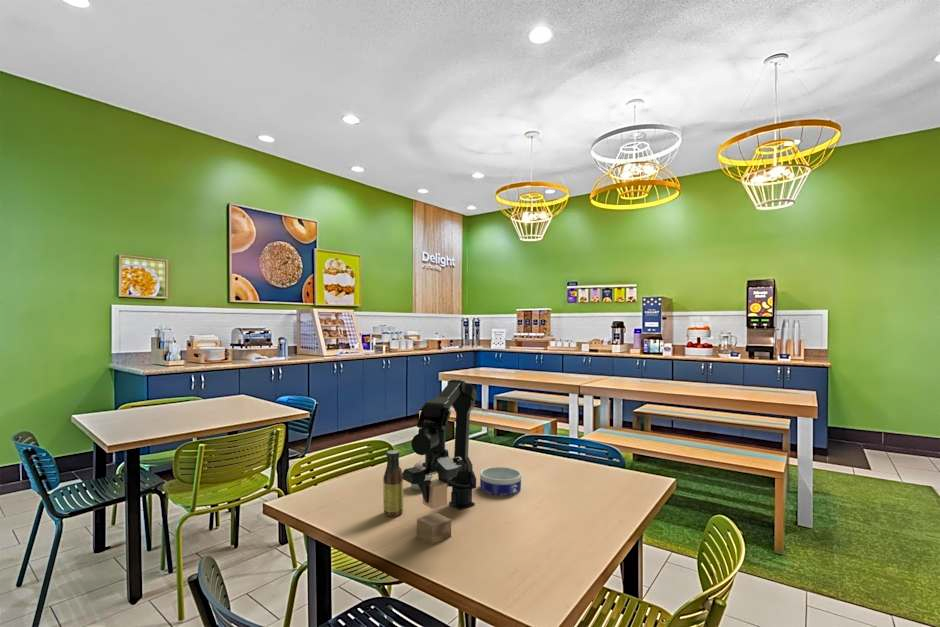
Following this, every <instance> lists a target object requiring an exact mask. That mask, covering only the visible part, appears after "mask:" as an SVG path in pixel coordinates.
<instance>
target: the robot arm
mask: <svg viewBox="0 0 940 627" xmlns="http://www.w3.org/2000/svg"><path fill="white" fill-rule="evenodd" d="M477 396H478V392H477V390H476V389H475V388H474V386H472V385H470V384H468V383H466V381H465V380H462V379H450V380H448V382H447V385H446V386H445V388H444V389H443V390H442V391H441V392H440V393H439V394H438V395H437V397H435V398H430V399H428V400H427V401H425V403H424V404H423V405H422V407H421V411H420V414H419V417H418V421H417V425H416V428H419V429H418V431H417V434H415V435H414V436H413V438H412V439H411V441H410V442H411V443H410V444H411V448H412V450H413V452H414V453H415V454H417V455H419V456H425V457H424V458H425V459H424V461H423V467H425V469H422V470H421V469H418V468H416V467H414V466H413V467H408V468H405V469H403V471H402V474H403V476H402V479H403V481H406V482H407V483H410V485H411V484H418V486H419V488H420V490H421V491H420V493H421V495H422V499H423V498H424V500H425V502H426V503H429V485H430V484H431V482H432V481H430V480H429V475H434V474H435V475H436V474H437V477H438V478H437V479H438V480H440V481H442V482H445V483H447V488H448V487H451V493H450V494H451V495H450V498H451V499H450V501H449V502H448V504H449V505H451V506H453V507H455V508H458V510H464V509H466V508H469V507H473V506H475V505H476V503H475V502H473V489H476V488H477V477H476V474H475V472H474V470H473V463H472V461H471V459H470V457H469V442H470V440H469V439H470V422H471V421H470V418H471V416H470V415H471V412H472V410H473V409H474V407H475V405H476V401H477V399H478V397H477ZM451 407H452V408H453V410H454V411H455V428H454V430H455V432H454V451H453V453H454V456H453V457H451V458H450V456H449V455H450V454H449V450H448V449H446V428H447V426H448V423H449V420H450V416H451V414H452V412H451V409H450V408H451Z"/></svg>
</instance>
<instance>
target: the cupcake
mask: <svg viewBox="0 0 940 627" xmlns="http://www.w3.org/2000/svg"><path fill="white" fill-rule="evenodd" d="M423 463H424V461H422V460H420V461H418V462H417V463H415V464H414V465H413V467H416V468H418V469H421V470H422V469H425V467H423ZM433 476H434V474H432V475H429V480H430V481H431V480H433V479H432V478H433ZM410 486H411V489H412V490H413V489H414V491H417V490H420V488H419V486H418V484H411V483H410Z"/></svg>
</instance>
